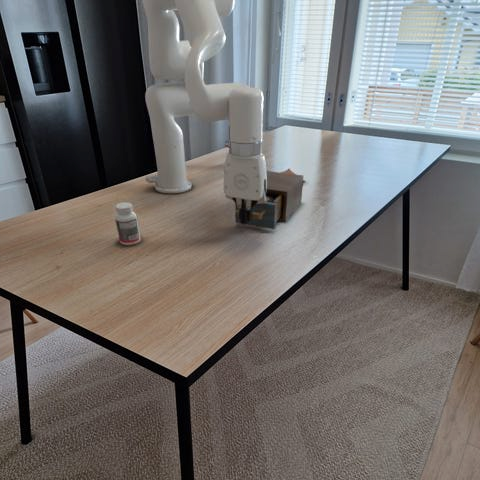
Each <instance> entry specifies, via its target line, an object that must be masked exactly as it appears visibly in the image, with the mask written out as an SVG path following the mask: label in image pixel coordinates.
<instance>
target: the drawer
mask: <svg viewBox="0 0 480 480" xmlns="http://www.w3.org/2000/svg"><path fill="white" fill-rule="evenodd" d="M265 195H268V196H271V197H273V199H274V200H273V203H271V202H265V203H262V204H255V205H254V206H253V207H252V220H251V221H250V222H249V223H248V224H247V225H248V226H253V227H259V228H264V229H270V230H275V229H276V228H277V227H276V224H277V222H279V221H278V220H279V219H280V217H281V216H282V215H283V205H284V194H277V193H270V192H266V194H265ZM245 202H247V199H245ZM234 210H235V211H234V214H235V215H234V217H235V220H234V221H235V223H237V224H241V223H240V219H239V208H238V207H237V204H236V203H235V202H234ZM247 225H246V226H247Z"/></svg>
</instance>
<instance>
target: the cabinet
mask: <svg viewBox="0 0 480 480" xmlns="http://www.w3.org/2000/svg"><path fill="white" fill-rule="evenodd" d="M266 172H267V192H270V193H277V194H284V205H283V215H282V216H281V217H280V219H279V220H278V221H277V222H284V223H285V222H287V221H288V219H290V217H291V216H292V215H293V214H294V212H296V210H297V209H298V208H299V207H300V206H301V204H302V197H303V187H304V186H303V185H304V182H303V180H304V174H303V175H302V174H296V173H295V174H296V175H295V174H287V173H280V171H279V172H277V171H269V170H266Z"/></svg>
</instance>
